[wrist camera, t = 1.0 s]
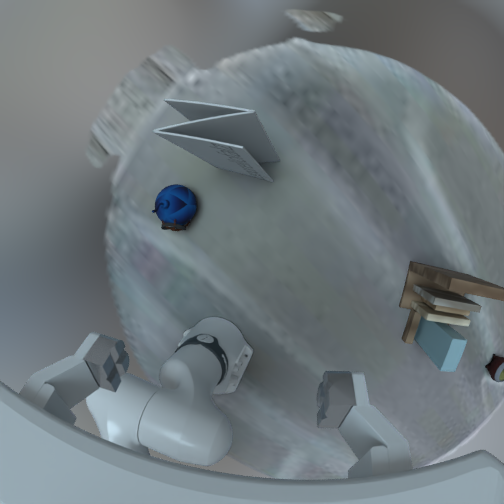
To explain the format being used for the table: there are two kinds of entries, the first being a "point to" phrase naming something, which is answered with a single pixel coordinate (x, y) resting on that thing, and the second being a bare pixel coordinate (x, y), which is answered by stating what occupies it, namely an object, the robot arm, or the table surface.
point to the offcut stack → (443, 306)
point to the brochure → (222, 137)
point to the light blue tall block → (440, 343)
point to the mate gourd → (496, 368)
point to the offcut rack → (442, 281)
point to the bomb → (175, 207)
